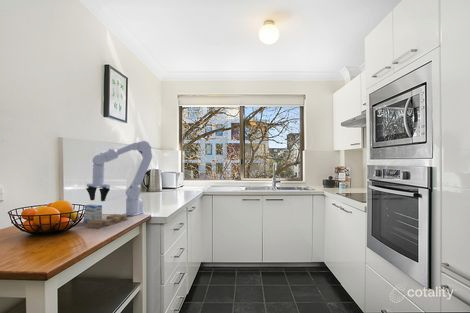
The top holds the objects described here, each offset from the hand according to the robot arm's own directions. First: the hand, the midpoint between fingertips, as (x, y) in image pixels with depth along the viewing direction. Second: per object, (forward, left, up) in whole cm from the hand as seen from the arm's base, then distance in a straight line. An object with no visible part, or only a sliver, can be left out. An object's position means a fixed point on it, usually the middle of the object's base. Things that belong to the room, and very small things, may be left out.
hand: (97, 200), depth 151 cm
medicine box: (+8, +5, -10) cm, 13 cm away
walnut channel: (+8, +15, -10) cm, 19 cm away
